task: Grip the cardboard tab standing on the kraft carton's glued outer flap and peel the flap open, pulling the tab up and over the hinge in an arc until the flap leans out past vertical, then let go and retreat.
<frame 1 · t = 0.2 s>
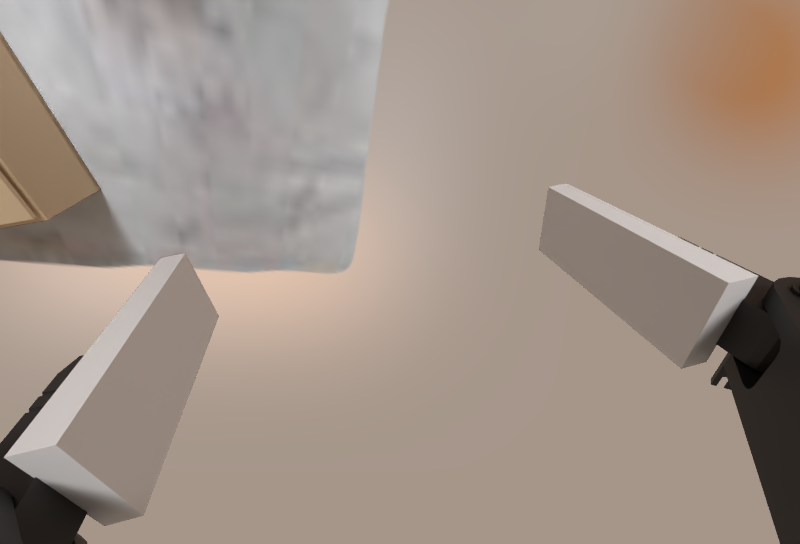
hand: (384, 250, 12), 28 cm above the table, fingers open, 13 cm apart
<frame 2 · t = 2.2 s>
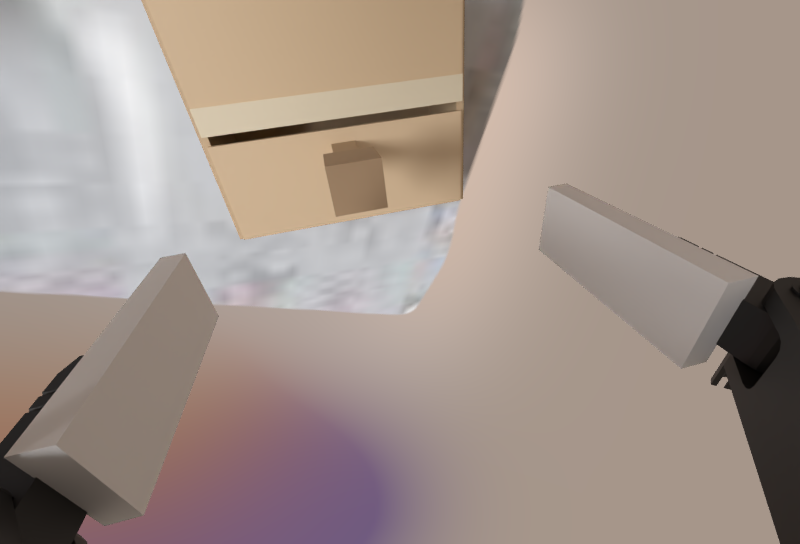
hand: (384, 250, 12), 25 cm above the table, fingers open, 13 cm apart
carton: (332, 108, 32), on the table
flap outer: (355, 195, 23), point 13 cm above the table, hinge at 0.0°
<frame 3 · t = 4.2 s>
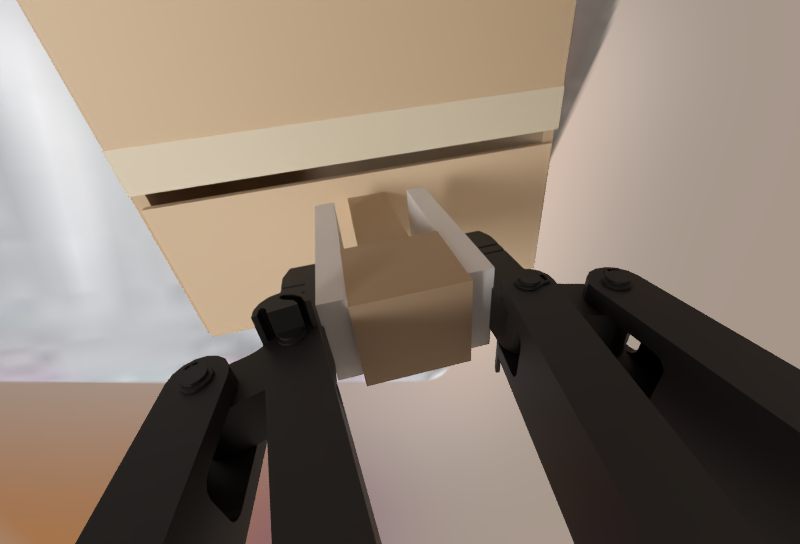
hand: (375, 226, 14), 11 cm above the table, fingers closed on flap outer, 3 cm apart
carton: (346, 131, 22), on the table
flap outer: (390, 293, 14), point 13 cm above the table, hinge at 0.0°, touching gripper
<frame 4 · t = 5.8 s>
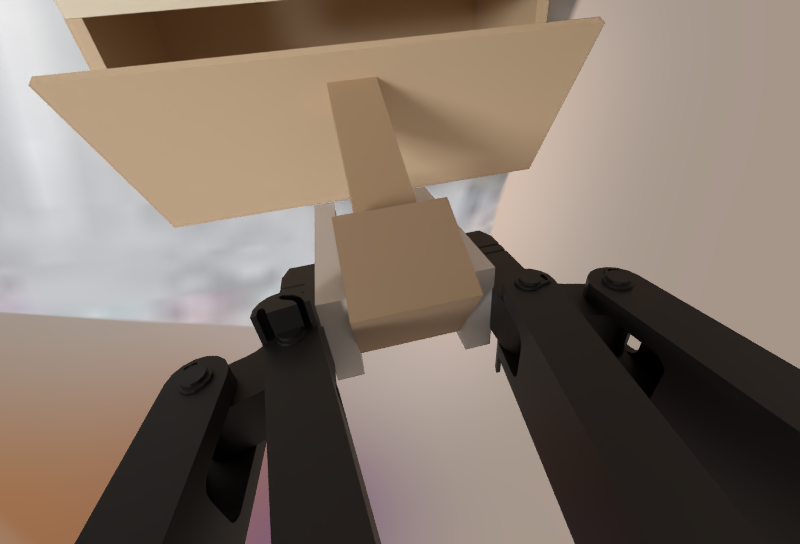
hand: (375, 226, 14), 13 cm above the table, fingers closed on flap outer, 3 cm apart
carton: (327, 27, 21), on the table
flap outer: (378, 222, 12), point 14 cm above the table, hinge at 31.2°, touching gripper
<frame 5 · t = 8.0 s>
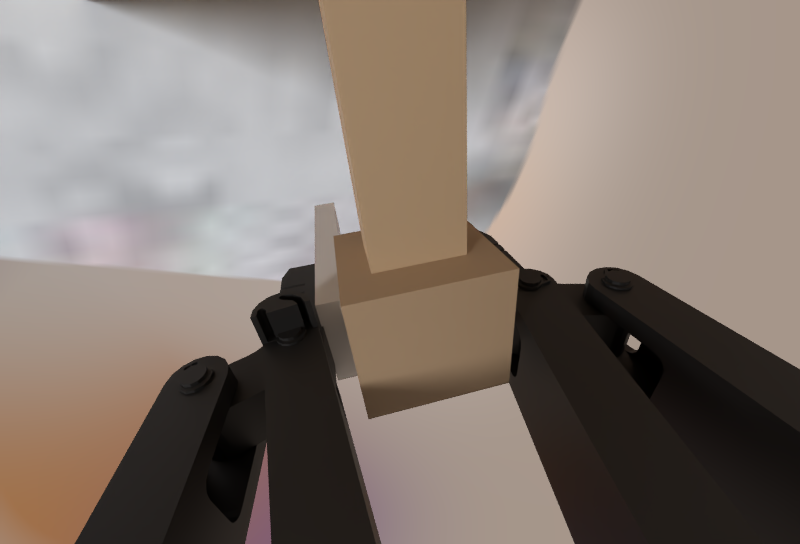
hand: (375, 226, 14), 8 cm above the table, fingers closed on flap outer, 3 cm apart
flap outer: (380, 128, 7), point 13 cm above the table, hinge at 87.0°, touching gripper
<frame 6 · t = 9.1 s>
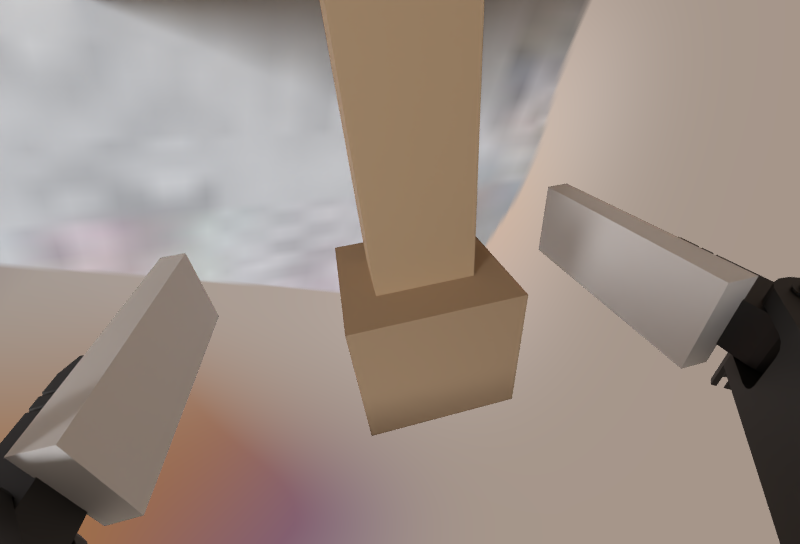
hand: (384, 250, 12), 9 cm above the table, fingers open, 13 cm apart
flap outer: (384, 136, 7), point 12 cm above the table, hinge at 90.9°
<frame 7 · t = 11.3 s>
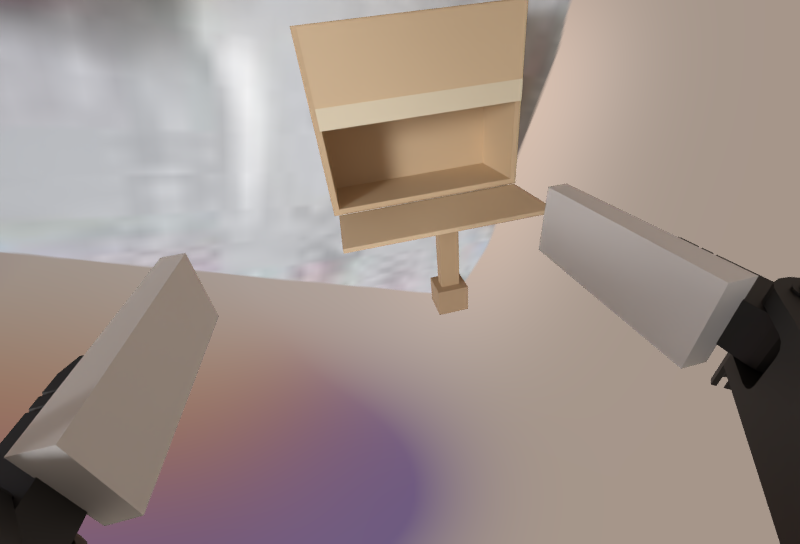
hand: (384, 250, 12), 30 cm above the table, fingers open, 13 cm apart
carton: (404, 109, 38), on the table
flap outer: (441, 255, 34), point 12 cm above the table, hinge at 90.9°
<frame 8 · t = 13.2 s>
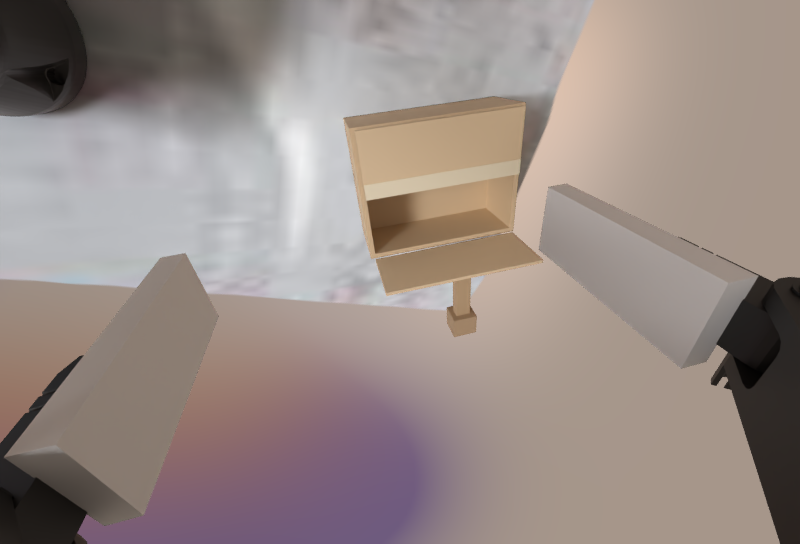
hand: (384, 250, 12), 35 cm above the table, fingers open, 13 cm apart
carton: (424, 169, 47), on the table
flap outer: (455, 290, 44), point 12 cm above the table, hinge at 90.9°
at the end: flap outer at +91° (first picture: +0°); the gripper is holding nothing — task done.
